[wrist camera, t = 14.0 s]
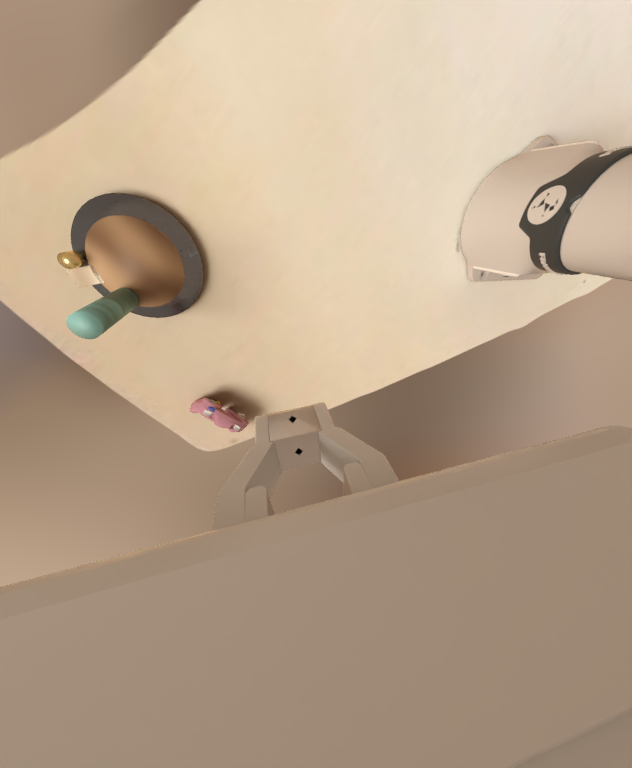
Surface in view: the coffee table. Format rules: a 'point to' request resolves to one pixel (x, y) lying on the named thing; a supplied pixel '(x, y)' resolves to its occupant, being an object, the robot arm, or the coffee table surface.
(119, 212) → the base plate
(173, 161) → the coffee table surface
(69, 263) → the gold knob
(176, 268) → the teal arcade joystick
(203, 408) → the video game controller
